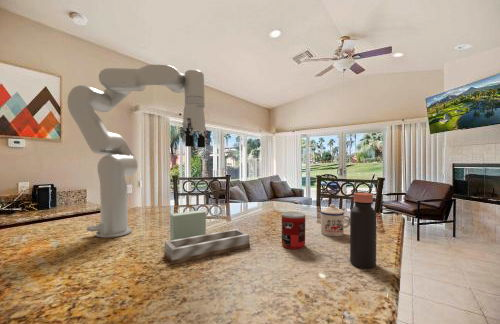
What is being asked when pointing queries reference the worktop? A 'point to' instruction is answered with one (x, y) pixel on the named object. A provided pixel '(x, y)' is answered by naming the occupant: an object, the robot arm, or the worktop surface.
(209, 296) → the worktop surface
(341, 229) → the teacup with lid
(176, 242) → the grey stone tray
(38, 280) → the worktop surface
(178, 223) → the pale green block
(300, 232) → the canned food
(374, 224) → the bottle
